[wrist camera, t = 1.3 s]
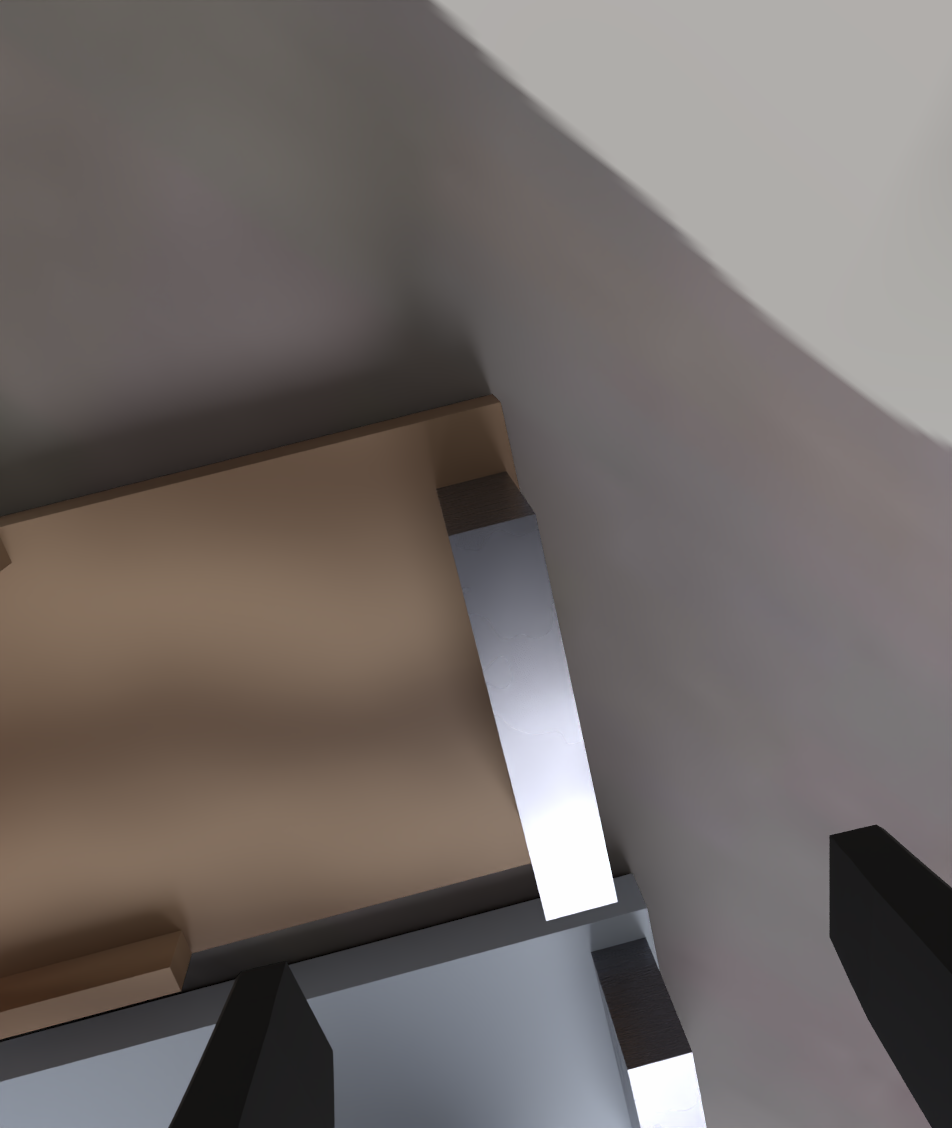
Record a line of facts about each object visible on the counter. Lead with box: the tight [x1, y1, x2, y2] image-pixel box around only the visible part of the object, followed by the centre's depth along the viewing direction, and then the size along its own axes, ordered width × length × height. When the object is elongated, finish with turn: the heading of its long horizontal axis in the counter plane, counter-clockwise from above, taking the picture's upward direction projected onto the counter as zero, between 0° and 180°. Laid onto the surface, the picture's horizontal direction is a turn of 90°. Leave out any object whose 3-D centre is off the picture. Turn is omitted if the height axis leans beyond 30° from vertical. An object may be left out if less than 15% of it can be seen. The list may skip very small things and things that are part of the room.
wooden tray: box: [0, 394, 618, 1039], centre depth 18 cm, size 12×22×5 cm, turn 103°
